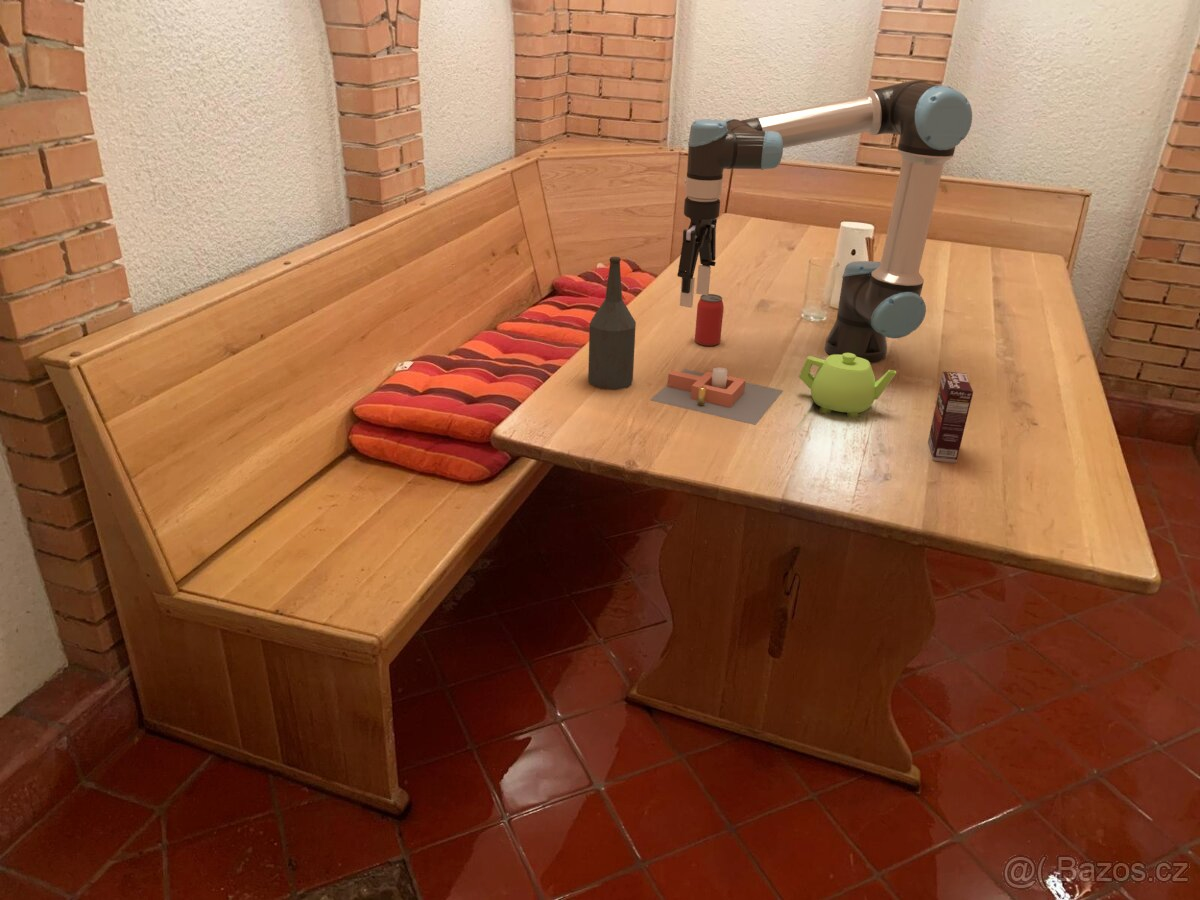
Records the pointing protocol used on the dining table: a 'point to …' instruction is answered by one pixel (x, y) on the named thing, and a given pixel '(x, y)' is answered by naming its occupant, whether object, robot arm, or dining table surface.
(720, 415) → the board
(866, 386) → the teapot
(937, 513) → the dining table surface
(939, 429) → the supplement box
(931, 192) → the robot arm
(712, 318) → the beer can
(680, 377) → the square nut
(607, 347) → the bottle
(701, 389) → the gold metal capsule
